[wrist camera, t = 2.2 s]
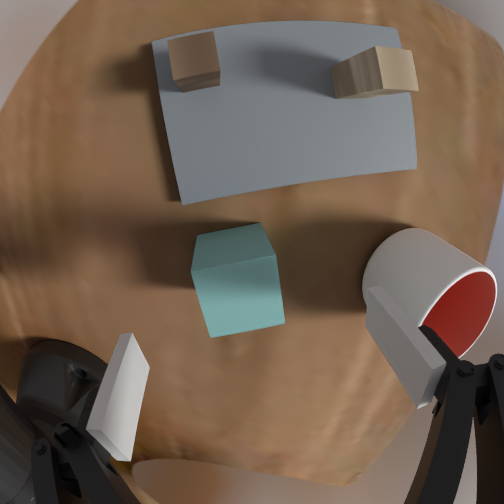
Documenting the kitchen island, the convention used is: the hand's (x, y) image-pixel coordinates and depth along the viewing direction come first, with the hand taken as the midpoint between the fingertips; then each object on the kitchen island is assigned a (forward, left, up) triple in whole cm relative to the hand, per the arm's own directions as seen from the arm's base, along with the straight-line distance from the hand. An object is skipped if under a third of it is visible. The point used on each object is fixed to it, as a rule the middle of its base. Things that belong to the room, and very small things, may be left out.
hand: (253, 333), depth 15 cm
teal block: (0, 0, -10) cm, 10 cm away
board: (+7, +12, -10) cm, 17 cm away
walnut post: (0, +15, -9) cm, 17 cm away
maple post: (+11, +13, -9) cm, 19 cm away
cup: (+16, -5, -11) cm, 19 cm away
